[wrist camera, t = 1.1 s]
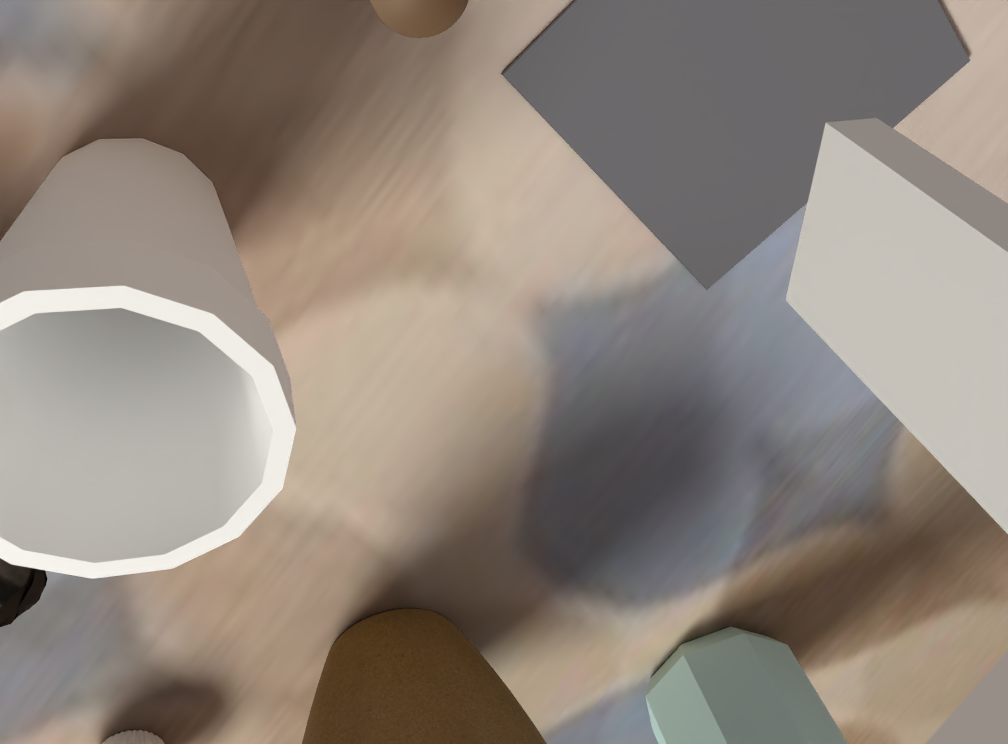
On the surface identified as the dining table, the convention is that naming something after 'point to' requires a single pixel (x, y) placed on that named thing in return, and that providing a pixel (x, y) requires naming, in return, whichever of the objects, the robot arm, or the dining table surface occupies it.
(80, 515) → the foam cup
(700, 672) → the water bottle
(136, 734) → the white lidded jar
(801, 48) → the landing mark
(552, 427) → the dining table surface
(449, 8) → the post
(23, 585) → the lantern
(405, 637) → the plant pot
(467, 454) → the dining table surface
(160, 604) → the dining table surface
